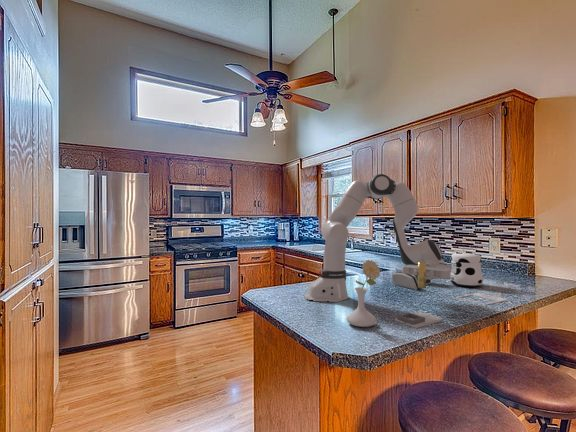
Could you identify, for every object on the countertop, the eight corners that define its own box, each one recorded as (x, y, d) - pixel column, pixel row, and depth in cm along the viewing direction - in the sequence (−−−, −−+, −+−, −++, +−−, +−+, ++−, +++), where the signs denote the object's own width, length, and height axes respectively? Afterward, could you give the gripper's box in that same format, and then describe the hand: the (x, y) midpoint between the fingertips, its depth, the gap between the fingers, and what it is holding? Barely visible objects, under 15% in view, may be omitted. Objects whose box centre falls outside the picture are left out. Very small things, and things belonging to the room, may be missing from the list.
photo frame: (507, 299, 151) (484, 303, 143) (507, 301, 151) (484, 306, 143) (477, 292, 164) (455, 296, 156) (477, 294, 164) (455, 298, 156)
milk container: (487, 285, 183) (487, 255, 183) (476, 290, 172) (476, 257, 172) (456, 280, 196) (456, 252, 196) (444, 285, 185) (444, 255, 185)
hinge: (422, 288, 176) (418, 272, 174) (416, 292, 174) (412, 276, 172) (399, 283, 191) (395, 268, 189) (394, 286, 189) (389, 271, 187)
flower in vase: (350, 330, 113) (350, 262, 113) (343, 319, 125) (343, 258, 125) (385, 329, 114) (384, 261, 114) (375, 318, 125) (374, 257, 125)
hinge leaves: (416, 328, 115) (415, 322, 115) (394, 320, 123) (394, 314, 123) (442, 320, 123) (442, 314, 123) (420, 313, 132) (420, 308, 132)
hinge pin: (420, 288, 133) (420, 262, 133) (416, 286, 136) (416, 261, 136) (427, 288, 133) (427, 262, 133) (423, 286, 136) (423, 261, 136)
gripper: (407, 260, 151) (397, 264, 140) (453, 265, 138) (447, 269, 127) (406, 273, 151) (397, 278, 140) (453, 279, 138) (447, 284, 127)
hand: (421, 273), depth 134 cm, fingers closed on hinge pin, 3 cm apart
